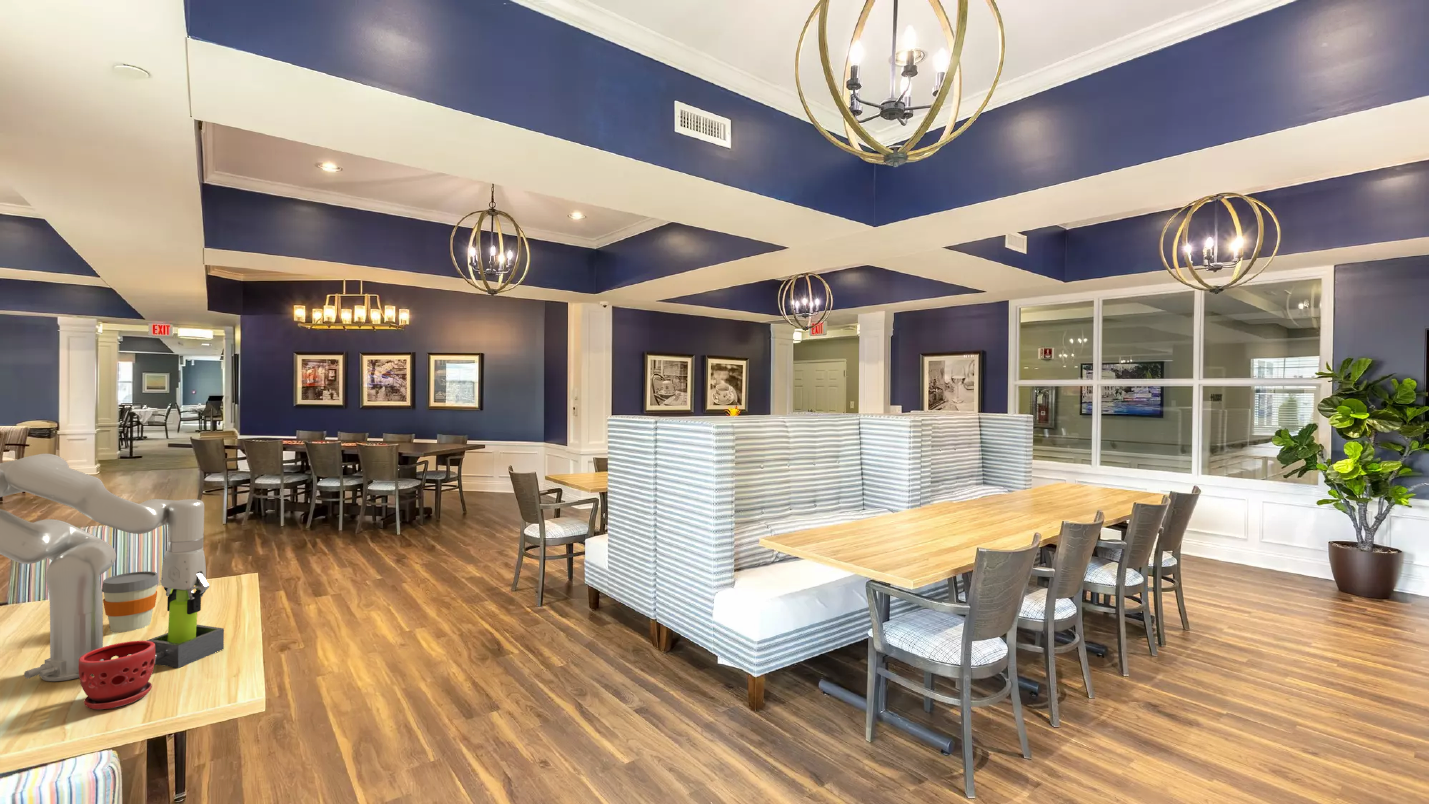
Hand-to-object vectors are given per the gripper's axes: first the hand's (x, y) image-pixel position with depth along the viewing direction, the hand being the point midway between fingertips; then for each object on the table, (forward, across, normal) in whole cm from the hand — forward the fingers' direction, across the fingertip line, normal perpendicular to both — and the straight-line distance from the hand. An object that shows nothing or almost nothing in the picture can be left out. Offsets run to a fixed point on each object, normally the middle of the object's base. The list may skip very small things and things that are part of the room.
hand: (184, 610), depth 170 cm
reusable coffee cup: (+13, -36, +11) cm, 40 cm away
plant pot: (+13, +10, -22) cm, 27 cm away
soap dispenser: (+11, 0, 0) cm, 11 cm away
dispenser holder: (+13, 0, -2) cm, 13 cm away
